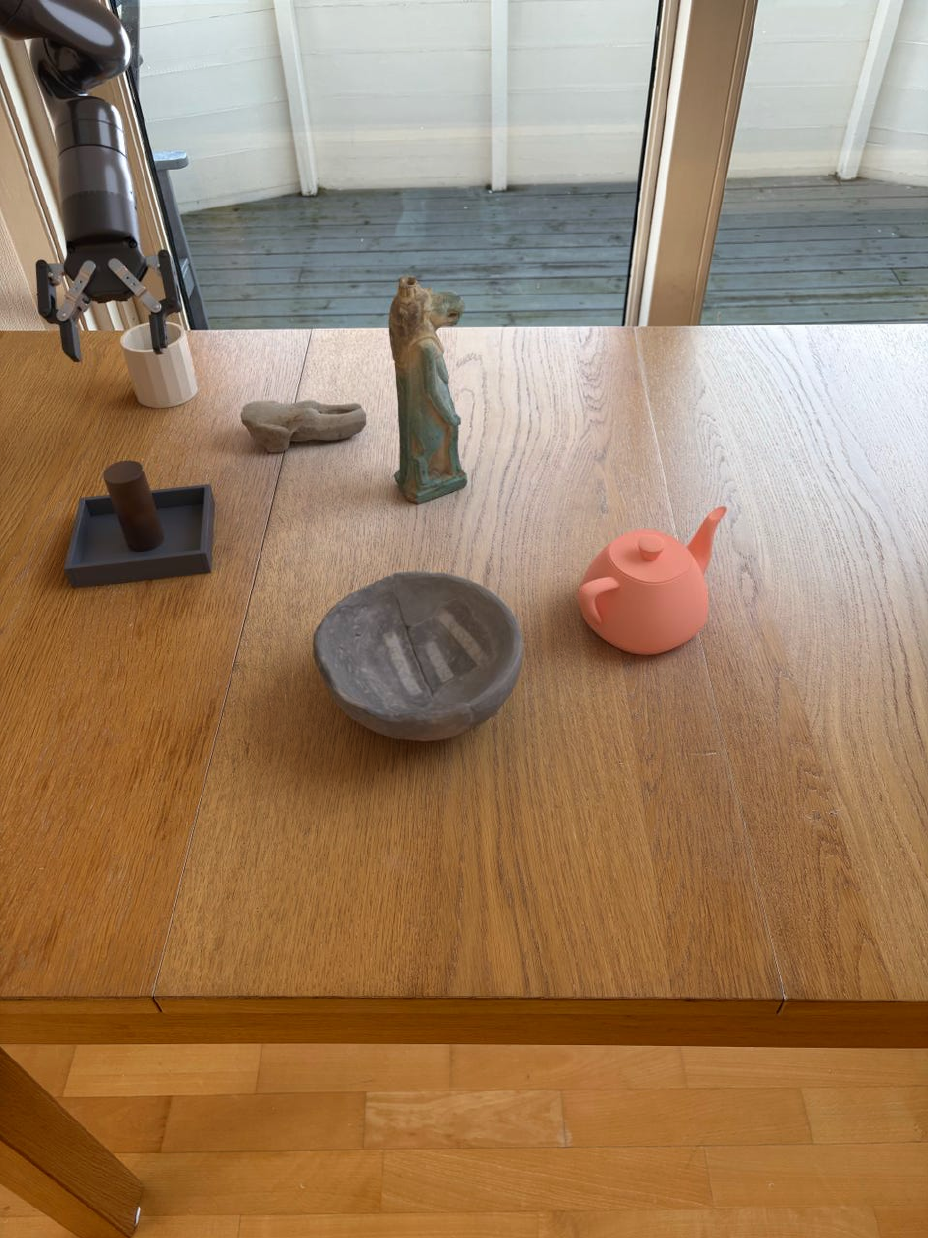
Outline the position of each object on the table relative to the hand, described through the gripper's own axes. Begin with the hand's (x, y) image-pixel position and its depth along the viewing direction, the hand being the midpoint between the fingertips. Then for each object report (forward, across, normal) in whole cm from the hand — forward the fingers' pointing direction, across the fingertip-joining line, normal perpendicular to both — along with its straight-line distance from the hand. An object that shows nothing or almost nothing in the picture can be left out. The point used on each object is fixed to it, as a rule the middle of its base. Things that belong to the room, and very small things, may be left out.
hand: (117, 356), depth 100 cm
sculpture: (+7, +18, +16) cm, 25 cm away
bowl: (+39, +27, -16) cm, 50 cm away
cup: (-3, 0, +26) cm, 26 cm away
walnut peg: (+19, 0, +3) cm, 20 cm away
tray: (+20, 0, +3) cm, 20 cm away
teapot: (+34, +50, -11) cm, 61 cm away
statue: (+16, +32, +7) cm, 37 cm away
